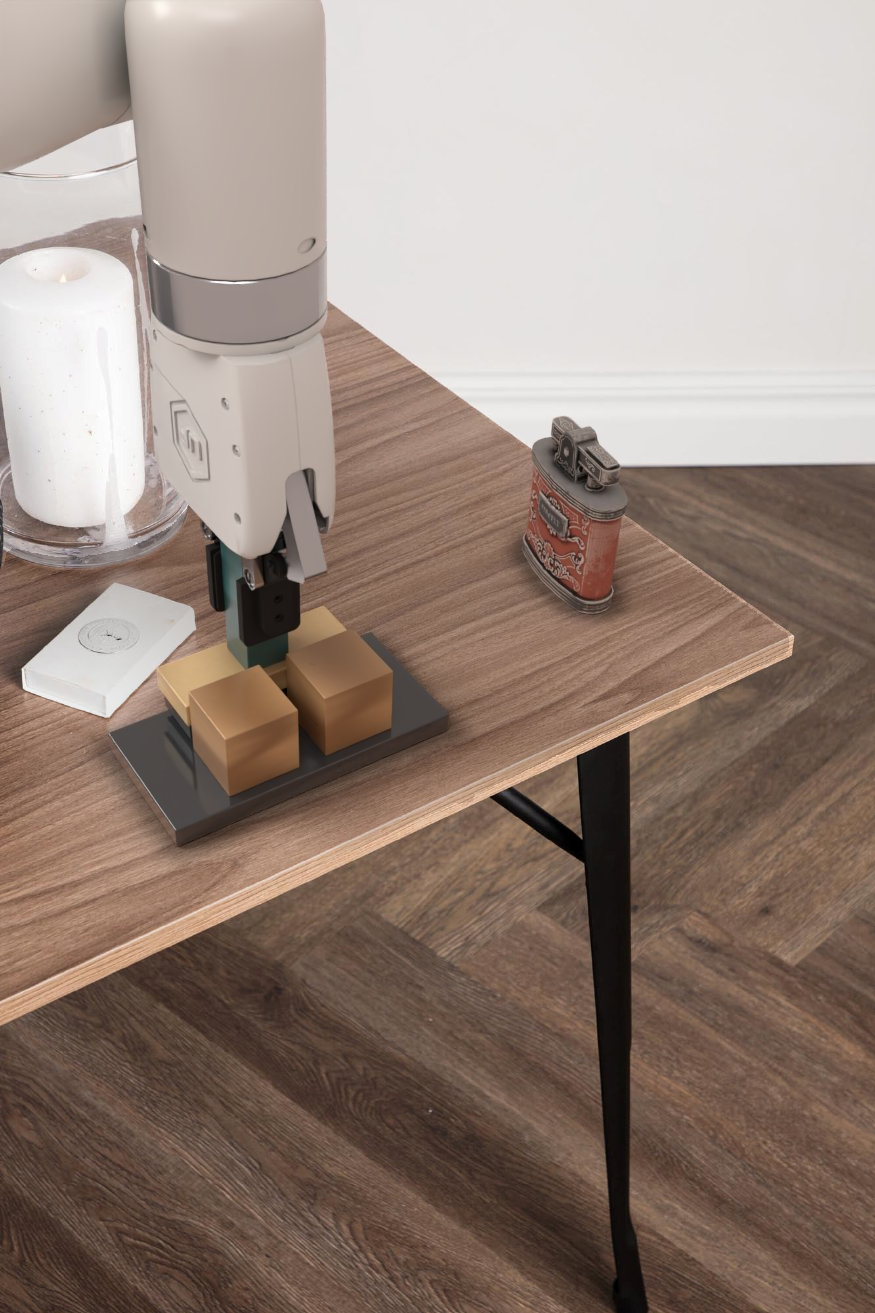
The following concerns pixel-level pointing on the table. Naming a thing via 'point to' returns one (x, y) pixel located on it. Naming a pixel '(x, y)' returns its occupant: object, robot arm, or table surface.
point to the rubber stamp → (238, 647)
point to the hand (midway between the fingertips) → (255, 615)
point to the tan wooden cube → (244, 729)
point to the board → (202, 805)
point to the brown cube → (340, 691)
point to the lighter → (574, 516)
